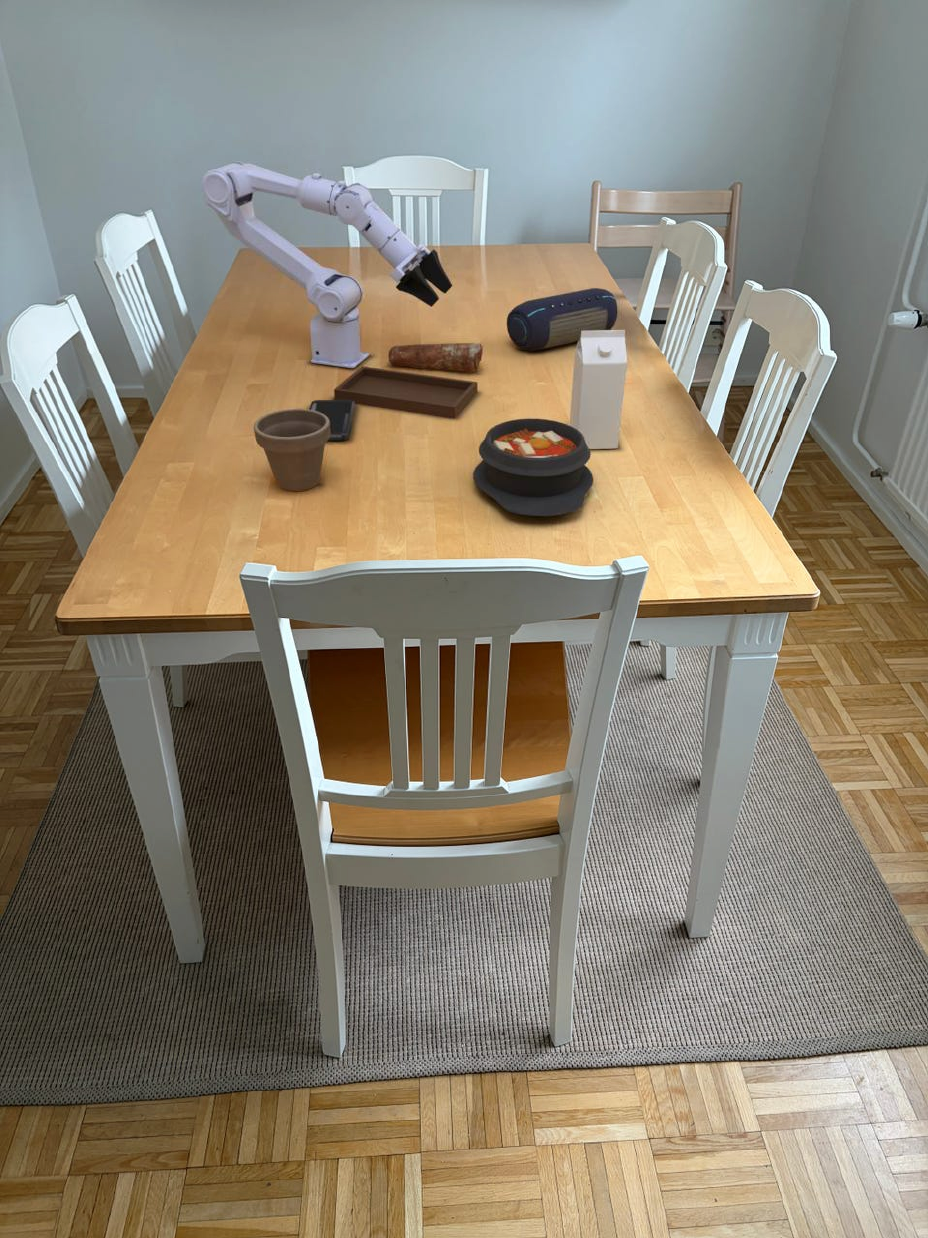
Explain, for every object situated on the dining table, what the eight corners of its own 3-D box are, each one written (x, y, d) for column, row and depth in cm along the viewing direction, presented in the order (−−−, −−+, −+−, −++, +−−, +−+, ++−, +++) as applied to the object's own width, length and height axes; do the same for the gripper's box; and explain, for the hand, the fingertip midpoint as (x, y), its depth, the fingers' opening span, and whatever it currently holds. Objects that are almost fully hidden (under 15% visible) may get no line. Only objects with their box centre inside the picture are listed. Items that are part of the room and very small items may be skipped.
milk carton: (568, 432, 165) (577, 323, 154) (608, 431, 165) (620, 322, 154) (575, 450, 159) (585, 338, 148) (617, 449, 160) (630, 337, 149)
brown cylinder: (479, 377, 185) (480, 349, 182) (385, 369, 189) (384, 341, 185) (485, 365, 191) (486, 338, 187) (393, 358, 194) (392, 330, 190)
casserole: (608, 524, 139) (614, 472, 134) (482, 530, 137) (483, 477, 132) (575, 450, 159) (579, 403, 154) (465, 454, 157) (465, 406, 153)
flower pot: (264, 466, 153) (257, 407, 147) (335, 464, 154) (331, 406, 148) (257, 500, 144) (249, 439, 138) (332, 498, 144) (328, 437, 139)
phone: (301, 434, 160) (312, 399, 172) (302, 440, 161) (312, 405, 173) (348, 434, 160) (355, 399, 172) (349, 440, 161) (356, 405, 173)
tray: (334, 400, 176) (333, 389, 174) (362, 376, 185) (362, 365, 184) (454, 418, 169) (455, 407, 168) (477, 392, 179) (477, 382, 178)
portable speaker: (528, 360, 193) (531, 311, 187) (500, 346, 200) (502, 298, 194) (623, 338, 204) (628, 291, 198) (594, 325, 211) (598, 279, 205)
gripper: (387, 236, 168) (442, 294, 171) (416, 215, 179) (467, 269, 182) (365, 264, 173) (419, 319, 176) (394, 242, 183) (444, 294, 186)
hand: (442, 296), depth 179 cm, fingers open, 7 cm apart
